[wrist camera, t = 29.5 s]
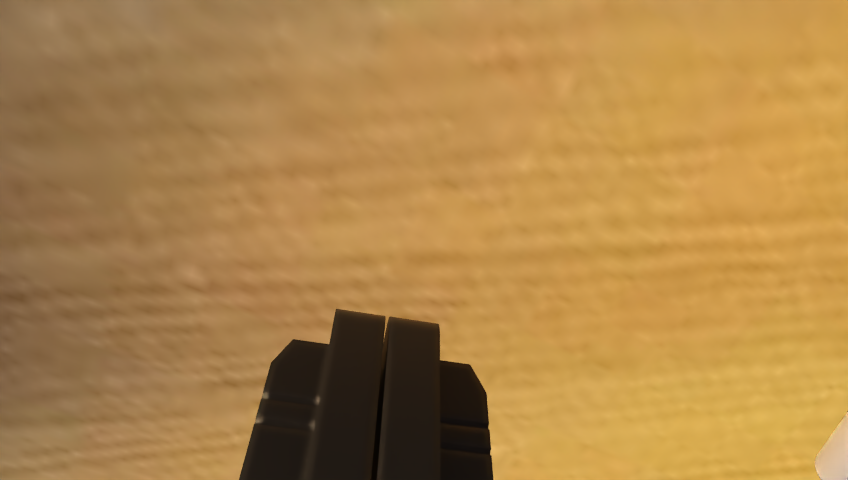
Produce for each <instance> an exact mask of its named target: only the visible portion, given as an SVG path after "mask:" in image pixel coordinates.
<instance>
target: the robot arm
mask: <svg viewBox="0 0 848 480" xmlns="http://www.w3.org/2000/svg"><path fill="white" fill-rule="evenodd" d="M384 330H385V316H381V315H374V314H367V313H360V312H354V311H347V310H340V309H336V312H335V317H334V322H333V328H332V333H331V339H330V344H322V343H315V342H308V341H301V340H295V339H293V340H292V341H291V342H290V343H289V344H288V345H287V346H286V347H285V349H284V350H283V351H282V352H281V353H280V354H279V355H278V356H277V357H276V358H275V359H274V360H273V361H272V362H271V365H270V369H269V373H268V376H267V380H266V383H265V387H264V391H263V396H262V399H261V402H260V405H259V409H258V413H257V416H256V422H255V424H254V427H253V431H252V434H251V438H250V442H249V445H248V449H247V452H246V456H245V460H244V463H243V467H242V471H241V474H240V478H239V480H493V471H492V458H491V455H490V450H491V446H490V433H489V430H488V425H489V420H488V408H487V395H486V392H485V390H484V388H483V386H482V385H481V383H480V381H479V379H478V378H477V376H476V374H475V372H474V371H473V369H472V367H471V366H470V365H469V364H462V363H455V362H448V361H441V360H440V329H439V324H436V323H429V322H422V321H416V320H409V319H402V318H395V317H389V319H388V323H387V328H386V333H385V338H384ZM383 341H384V343H383Z"/></svg>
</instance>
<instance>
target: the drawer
mask: <svg viewBox="0 0 848 480" xmlns="http://www.w3.org/2000/svg"><path fill="white" fill-rule="evenodd" d="M815 468H816V471H817V473H818V475H819V477H820V479H821V480H848V412H847V413H846V415H845V416H844V417H843V419H842V420H841V422H840V423H839V424H838V426H837V427H836V429H835V430H834V432H833V433H832V434H831V436H830V437H829V439H828V440H827V441H826V443H825V444H824V446H823V447H822V448H821V450H820V451H819V453H818V454H817V456H816V458H815Z"/></svg>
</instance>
